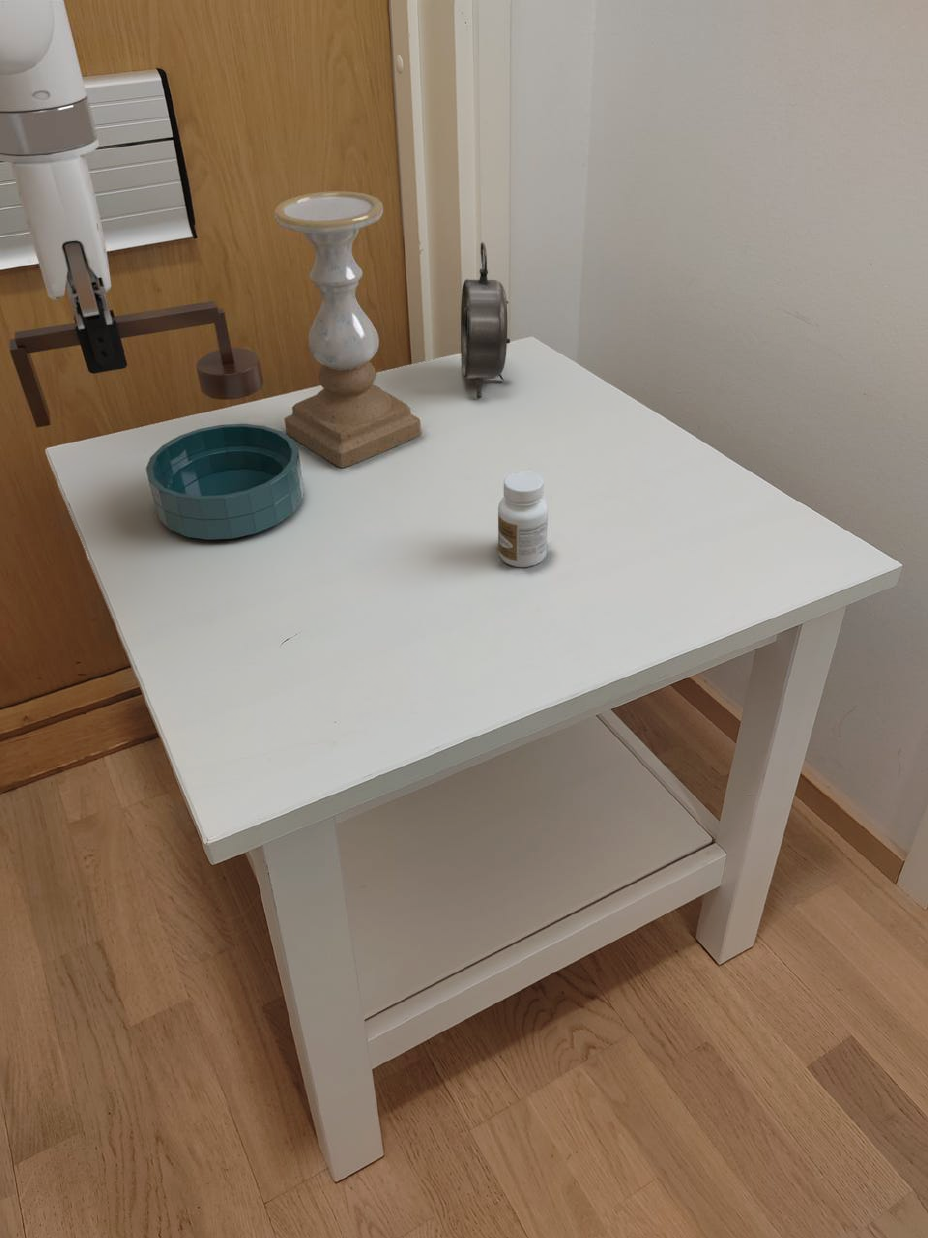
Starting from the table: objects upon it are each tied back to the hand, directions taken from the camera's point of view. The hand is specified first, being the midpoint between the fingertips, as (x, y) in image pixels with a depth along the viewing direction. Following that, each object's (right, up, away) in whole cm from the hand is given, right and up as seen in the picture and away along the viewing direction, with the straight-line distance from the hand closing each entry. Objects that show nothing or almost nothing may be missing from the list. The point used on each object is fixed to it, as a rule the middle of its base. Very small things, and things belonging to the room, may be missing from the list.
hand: (106, 362), depth 82 cm
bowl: (+8, -11, +12) cm, 18 cm away
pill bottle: (+36, -16, +5) cm, 40 cm away
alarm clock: (+33, +6, +32) cm, 47 cm away
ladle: (+3, -2, +3) cm, 5 cm away
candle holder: (+19, -2, +23) cm, 30 cm away
